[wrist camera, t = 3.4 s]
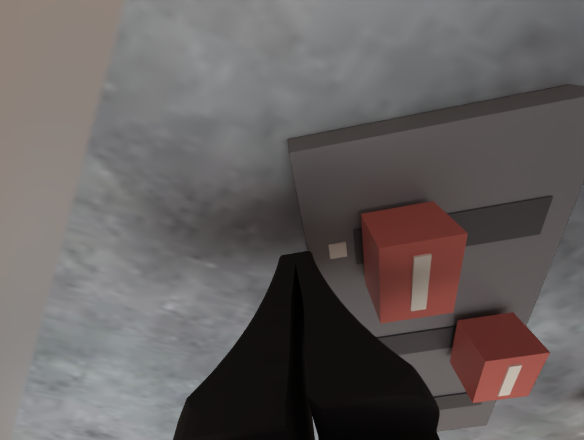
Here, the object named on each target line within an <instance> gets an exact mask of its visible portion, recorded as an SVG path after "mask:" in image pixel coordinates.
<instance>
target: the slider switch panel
mask: <svg viewBox="0 0 584 440" xmlns="http://www.w3.org/2000/svg"><path fill="white" fill-rule="evenodd" d="M288 148H289V156H290V161H291V166H292V172H293V177H294V182H295V187H296V192H297V198H298V203H299V208H300V213H301V219H302V224H303V229H304V234H305V240H306V245H307V250H308V251H310V252H312V255H313V258H314V261H315V263H316V265H317V267H318V269H319V271H320V272H321V274H322V276H323V277H324V279H325V280H326V282H327V283H328V285H329V286H330V288H331V289H332V290H333V292H334V293H335V294H336V296H337V297H338V298H339V299H340V301H341V302H342V303H343V304H344V306H345V307H346V308H347V309H348V310H349V311H350V312H351V313H352V314H353V315H354V316H355V317H356V319H357V320H358V321H359V322H360V323H361V324H363V325H364V326H365V327H366V328H367V329H368V330H369V331H370V332H371V333H372V334H373V335H374V336H375V337H377V338H378V339H379V340H380V341H381V342H382V343H384V344H385V345H386V346H387V347H388V348H390V349H391V350H392V351H394V352H395V353H396V354H397V355H399V356H400V357H401V358H403V359H404V360H405V361H407V362H408V363H410V364H411V365H412V366H413V367H414V368H415V369H416V371H417V372H418V373H419V375H420V376H421V378H422V379H423V381H424V382H425V384H426V385H427V387H428V388H429V390H430V392H431V393H432V395H433V397H434V399H435V400H436V402H437V405H438V407H439V410H440V417H439V422H438V427H437V431H444V430H452V429H460V428H468V427H476V426H484V425H487V423H488V420H489V418H490V415H491V413H492V410H493V408H494V405H495V403H496V400H491V401H484V402H476V403H472V401H471V399H470V398H469V396H468V394H467V392H466V390H465V389H464V387H463V385H462V383H461V381H460V380H459V378H458V376H457V374H456V372H455V371H454V369H453V367H452V365H451V363H450V357H451V352H452V347H453V342H454V337H455V332H456V327H457V322H458V320H464V319H471V318H478V317H484V316H491V315H498V314H504V313H511V312H514V314H515V315H516V316H517V317H518V318H519V319H520V320H521V321H522V322H523V323H524V325H525V326H526V325H527V323H528V320H529V318H530V315H531V313H532V310H533V308H534V305H535V303H536V300H537V298H538V295H539V293H540V290H541V288H542V285H543V283H544V280H545V278H546V275H547V273H548V270H549V268H550V265H551V263H552V260H553V258H554V255H555V253H556V250H557V248H558V245H559V243H560V240H561V237H562V235H563V232H564V230H565V227H566V225H567V222H568V220H569V217H570V215H571V212H572V210H573V207H574V205H575V202H576V200H577V197H578V195H579V192H580V190H581V187H582V185H583V182H584V86H579V85H565V86H560V87H555V88H549V89H544V90H539V91H534V92H529V93H524V94H519V95H513V96H508V97H503V98H498V99H493V100H488V101H483V102H477V103H472V104H467V105H462V106H457V107H452V108H446V109H441V110H436V111H431V112H426V113H421V114H416V115H410V116H405V117H400V118H395V119H390V120H385V121H380V122H374V123H369V124H364V125H359V126H354V127H349V128H343V129H338V130H333V131H328V132H323V133H318V134H313V135H307V136H302V137H297V138H292V139H288ZM432 201H434V202H435V203H436V204H437V205H438V206H439V207H440V208H441V209H442V210H443V211H445V212H446V213H447V214H448V215H449V216H450V217H451V218H452V219H453V220H454V221H455V222H456V223H457V224H458V225H459V226H460V227H461V228H463V229H464V230H465V231H466V232H467V233H468V235H467V240H466V246H465V251H464V257H463V262H462V268H461V273H460V279H459V284H458V290H457V295H456V301H455V306H454V312H453V313H447V314H440V315H434V316H427V317H421V318H414V319H407V320H401V321H394V322H388V323H381V324H380V321H379V318H378V316H377V313H376V310H375V308H374V305H373V302H372V300H371V297H370V294H369V292H368V289H367V287H366V284H365V272H364V255H363V238H362V221H361V214H363V213H369V212H375V211H380V210H386V209H392V208H397V207H403V206H409V205H415V204H420V203H426V202H432Z"/></svg>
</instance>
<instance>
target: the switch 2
mask: <svg viewBox="0 0 584 440" xmlns="http://www.w3.org/2000/svg"><path fill="white" fill-rule="evenodd" d="M549 354H550V352H549V351H548V350H547V349H546V348H545V346H544V345H543V344H542V343H541V342H540V341H539V340H538V339H537V338H536V337H535V335H534V334H533V333H532V332H531V331H530V330H529V329H528V328H527V327H526V326H525V325H524V323H523V322H522V321H521V320H520V319H519V318H518V317H517V316H516V315H515V314H514V312H511V313H504V314H498V315H491V316H484V317H478V318H471V319H464V320H458V322H457V327H456V332H455V337H454V342H453V347H452V352H451V357H450V363H451V365H452V367H453V369H454V371H455V372H456V374H457V376H458V378H459V380H460V381H461V383H462V385H463V387H464V389H465V390H466V392H467V394H468V396H469V398H470V399H471V401H472V403H476V402H484V401H491V400H499V399H507V398H514V397H522V396H528V395H529V393H530V391H531V389H532V387H533V385H534V383H535V381H536V379H537V377H538V375H539V373H540V371H541V369H542V367H543V365H544V363H545V361H546V359H547V357H548V355H549Z"/></svg>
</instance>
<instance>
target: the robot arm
mask: <svg viewBox="0 0 584 440" xmlns="http://www.w3.org/2000/svg"><path fill="white" fill-rule="evenodd" d="M312 416H313V419H314V423H315V426H316V430H317V433H318V438H319V440H440V439H439V437H438V435H437V427H438V422H439V417H440V410H439V407H438V405H437V402H436V400H435V399H434V397H433V395H432V393H431V392H430V390H429V388H428V387H427V385H426V384H425V382H424V381H423V379H422V378H421V376H420V375H419V373H418V372H417V371H416V369H415V368H414V367H413V366H412V365H411V364H410V363H408V362H407V361H405V360H404V359H403V358H401V357H400V356H399V355H397V354H396V353H395V352H394V351H392V350H391V349H390V348H388V347H387V346H386V345H385V344H384V343H382V342H381V341H380V340H379V339H378V338H377V337H375V336H374V335H373V334H372V333H371V332H370V331H369V330H368V329H367V328H366V327H365V326H364V325H363V324H361V323H360V322H359V321H358V320H357V319H356V317H355V316H354V315H353V314H352V313H351V312H350V311H349V310H348V309H347V308H346V307H345V306H344V304H343V303H342V302H341V301H340V299H339V298H338V297H337V296H336V294H335V293H334V292H333V290H332V289H331V288H330V286H329V285H328V283H327V282H326V280H325V279H324V277H323V276H322V274H321V272H320V271H319V269H318V267H317V265H316V263H315V261H314V258H313V255H312V252H310V251H305V252H299V253H293V254H287V255H282V256H281V257H280V258H279V262H278V265H277V268H276V271H275V274H274V276H273V279H272V281H271V284H270V286H269V288H268V290H267V293H266V295H265V297H264V299H263V301H262V302H261V304H260V306H259V308H258V310H257V312H256V314H255V315H254V317H253V319H252V320H251V322H250V323H249V325H248V327H247V328H246V330H245V331H244V332H243V334H242V335H241V337H240V338H239V340H238V341H237V342H236V344H235V345H234V346H233V348H232V349H231V350H230V352H229V353H228V354H227V355H226V356H225V358H224V359H223V360H222V361H221V362H220V364H219V365H218V366H217V367H216V368H215V370H214V371H213V372H212V373H211V374H210V375H209V376H208V377H207V378H206V379H205V380H204V381H203V382H202V383H201V384H200V386H199V387H198V388H197V389H196V390H195V391H194V392H193V393H192V394H191V395H190V396H189V397H188V398H187V399H186V402H185V405H184V407H183V410H182V412H181V415H180V418H179V421H178V424H177V427H176V431H175V435H174V438H173V440H315V436H314V428H313V419H312Z"/></svg>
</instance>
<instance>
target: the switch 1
mask: <svg viewBox="0 0 584 440" xmlns="http://www.w3.org/2000/svg"><path fill="white" fill-rule="evenodd" d="M361 221H362V238H363V255H364V272H365V284H366V287H367V289H368V292H369V294H370V297H371V300H372V302H373V305H374V308H375V310H376V313H377V316H378V318H379V321H380V324H381V323H388V322H394V321H401V320H407V319H414V318H421V317H427V316H434V315H440V314H447V313H453V312H454V306H455V301H456V295H457V290H458V284H459V279H460V273H461V268H462V262H463V257H464V251H465V246H466V240H467V235H468V233H467V232H466V231H465V230H464V229H463V228H461V227H460V226H459V225H458V224H457V223H456V222H455V221H454V220H453V219H452V218H451V217H450V216H449V215H448V214H447V213H446V212H445V211H443V210H442V209H441V208H440V207H439V206H438V205H437V204H436V203H435V202H434V201H432V202H426V203H420V204H415V205H409V206H403V207H397V208H392V209H386V210H380V211H375V212H369V213H363V214H361Z"/></svg>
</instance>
